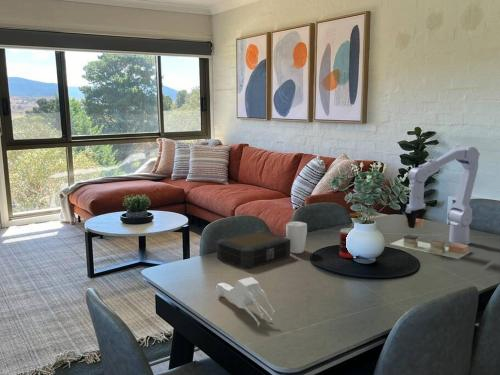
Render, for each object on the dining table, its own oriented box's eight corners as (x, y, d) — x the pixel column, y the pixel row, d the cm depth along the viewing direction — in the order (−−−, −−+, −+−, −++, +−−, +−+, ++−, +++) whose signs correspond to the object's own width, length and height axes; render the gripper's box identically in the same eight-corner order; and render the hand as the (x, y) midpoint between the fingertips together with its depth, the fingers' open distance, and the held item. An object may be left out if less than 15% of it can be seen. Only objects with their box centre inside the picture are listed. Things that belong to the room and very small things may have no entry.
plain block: (434, 249, 202) (435, 239, 202) (444, 251, 199) (445, 241, 199) (430, 251, 199) (430, 241, 199) (440, 254, 196) (441, 243, 196)
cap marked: (411, 223, 210) (411, 217, 210) (424, 225, 206) (424, 219, 206) (405, 225, 206) (405, 219, 206) (418, 228, 202) (418, 222, 202)
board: (403, 240, 220) (403, 238, 220) (470, 254, 199) (470, 251, 199) (389, 246, 211) (389, 243, 211) (458, 261, 190) (458, 258, 190)
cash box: (247, 270, 180) (247, 251, 179) (215, 258, 195) (214, 240, 194) (292, 257, 197) (293, 239, 195) (259, 246, 212) (259, 229, 210)
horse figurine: (264, 345, 141) (223, 290, 158) (277, 304, 133) (233, 251, 151) (250, 350, 138) (210, 293, 155) (263, 308, 131) (219, 254, 148)
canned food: (360, 254, 199) (361, 229, 197) (355, 260, 192) (356, 233, 190) (342, 252, 202) (342, 227, 200) (337, 257, 195) (338, 231, 193)
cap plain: (453, 248, 204) (454, 242, 203) (467, 251, 200) (468, 245, 199) (448, 251, 200) (448, 245, 199) (462, 254, 196) (462, 248, 195)
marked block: (408, 243, 211) (408, 234, 210) (417, 245, 208) (418, 236, 207) (403, 245, 208) (403, 236, 207) (412, 248, 205) (413, 238, 204)
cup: (306, 248, 208) (307, 221, 206) (306, 254, 199) (307, 226, 197) (285, 247, 209) (286, 221, 207) (285, 254, 200) (285, 226, 198)
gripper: (415, 192, 212) (413, 221, 214) (399, 196, 202) (398, 227, 204) (430, 194, 207) (429, 224, 209) (415, 199, 197) (413, 230, 199)
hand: (414, 226), depth 206 cm, fingers closed on cap marked, 6 cm apart
